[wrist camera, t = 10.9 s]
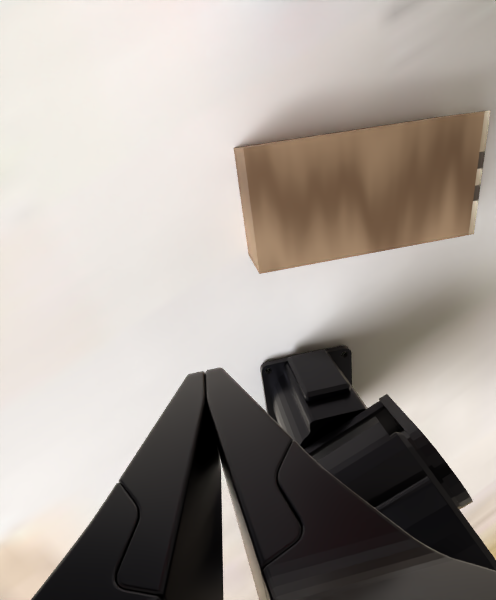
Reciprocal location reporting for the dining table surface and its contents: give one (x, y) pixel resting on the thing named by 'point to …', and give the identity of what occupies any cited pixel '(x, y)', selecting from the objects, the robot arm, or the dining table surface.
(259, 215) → the walnut block
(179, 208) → the dining table surface
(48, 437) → the dining table surface
